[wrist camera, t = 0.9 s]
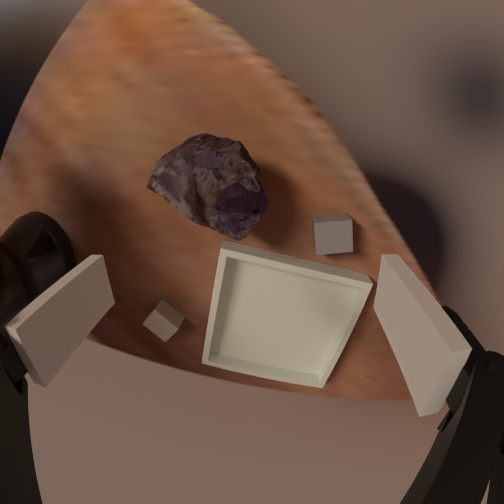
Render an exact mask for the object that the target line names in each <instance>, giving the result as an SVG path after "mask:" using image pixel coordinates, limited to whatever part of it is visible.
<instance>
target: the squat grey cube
mask: <svg viewBox="0 0 504 504" xmlns="http://www.w3.org/2000/svg"><path fill="white" fill-rule="evenodd" d="M312 227H313V241H314V248H315V253H316V255H323V254H334V253H345V252H353V228H352V219H351V218H350V216H349V215H348V214H347V213H341V214H329V215H317V216H312Z"/></svg>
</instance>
